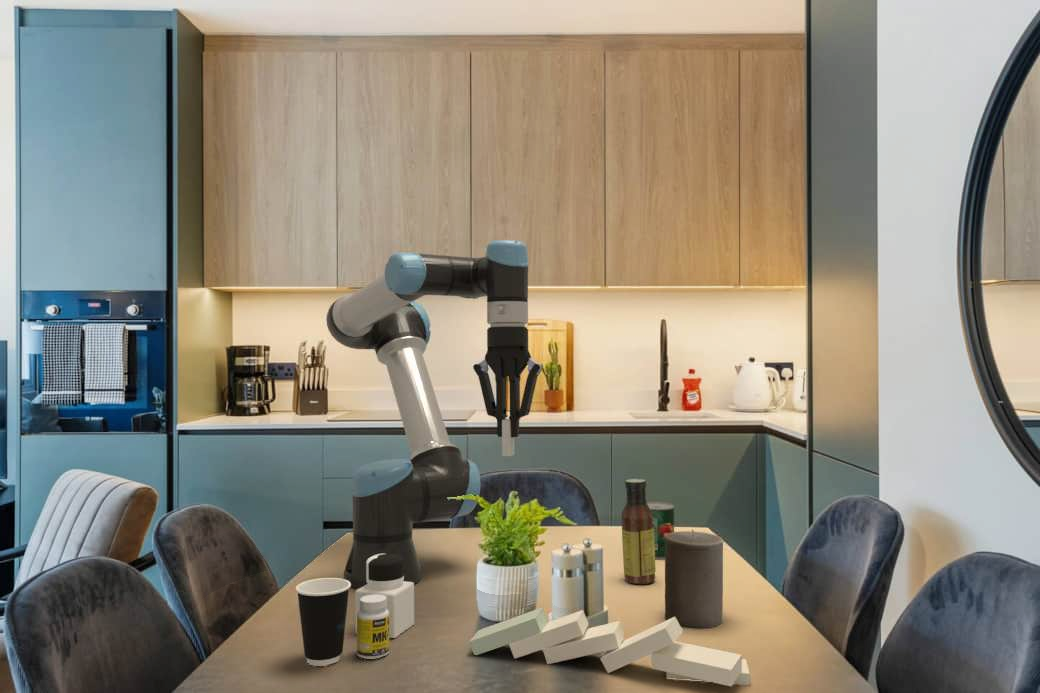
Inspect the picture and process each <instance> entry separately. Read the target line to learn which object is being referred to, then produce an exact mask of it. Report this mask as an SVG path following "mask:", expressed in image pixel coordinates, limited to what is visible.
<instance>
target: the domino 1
mask: <svg viewBox="0 0 1040 693" xmlns="http://www.w3.org/2000/svg"><path fill="white" fill-rule="evenodd" d="M589 625H590V623H589V621H588V619H587V617H586V614H585V612H584V610H583V609H581V610H578V611H576V612H573V613H571V614H568V615H564V616H562V617H558V618H556V619H553V620H550V621H548V622H547V624H546V625H545V627H544V629H543V630H542V632H541V633H538V634H536V635H533V636H530V637H527V638H524V639H521V640H518V641H516V642H513V643H510V644H508V645H509V648H510V651H511V653H512V656H513V658H514V659H517V658H518V659H519V658H521V657H524V656H528V655H529V654H533V653H536V652H539V651H541V650H542V651H543V649H545V648H547V647H550V646H553V645H556V644H559V643H562V642H565V641H568V640H571V639H574V638H577V637H580V636H582V635H583V634H584V632H585V630H586V629H588V627H589Z"/></svg>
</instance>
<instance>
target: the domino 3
mask: <svg viewBox="0 0 1040 693" xmlns="http://www.w3.org/2000/svg"><path fill="white" fill-rule="evenodd" d="M683 632H684V630H683V628H682V626H680V625H679V623H678V621H677V619H676V617H673V618H671V619H669V620H667V619H666V620H665V621H662V622H660V623H658V624H656V625H654V626H652V627H650V628H647V629H645V630H644V631H641V632H639V633H637V634H634V635H633V636H631V637H628V638H626V639H623V641H622V643H621V645H620V647H619V648H617V649H613V650H608V651H605V653H604V654H603V655H602V656H601V657H600V658H599V659H600V661H601V662H602V665H603V666H604V667H603V668H604V669H605V671H606V673H607V674H609V673H612V672H614V671H617V670H618V669H620V668H623V667H625V666H627V665H630V664H632V663H634V662H636V661H638V660H641V659H643V658H645V657H647V656H649V655H651V653H654V652H656V651H658V650H660V649H662V648H664V647H667V646H669V645H671V644H673V643H674V642H675V641H676V642H677V639H679V637H680V635H682V633H683Z"/></svg>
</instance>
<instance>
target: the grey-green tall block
mask: <svg viewBox="0 0 1040 693" xmlns="http://www.w3.org/2000/svg"><path fill="white" fill-rule="evenodd" d="M547 622H549V620H548V617H547V615H546V613H545V610H544V607H543V606H542V607H540V608H536V609H533V610H531V611H529V612H526V613H523V614H520V615H518V616H515V617H511V618H509V619H507V620H504V621H500V622H498V623H497V622H496V623H495V624H492V625H489V626H487V627H484V628H481V629H479V630H477V631H476V632H475V634H474V635H473V636H472V638H471V639H470V640H469V641H468V642H469V643H468V644H469V645H470V648H471V650H472V653H473V655H476V656H478V655H482V654H483V653H487V652H490V651H493V650H496V649H498V648H501V647H504V646H507V645H509V644H510V643H513V642H516V641H518V640H521V639H524V638H527V637H530V636H533V635H536V634H538V633H541V632H542V630H543V629H544V627H545V625H546V624H547Z"/></svg>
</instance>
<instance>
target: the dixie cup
mask: <svg viewBox="0 0 1040 693" xmlns="http://www.w3.org/2000/svg"><path fill="white" fill-rule="evenodd" d="M350 588H351V583H350V582H349V581H348V580H345V579H344V578H340V577H339V578H338V577H321V578H320V577H319V578H314V579H309V580H306V581H302V582H300V583H298V584H297V585H296V586H295V592H296V593H297V600H298V608H299V615H300V616H299V617H300V627H301V635H302V643H303V644H302V645H303V652H304V657H305V658H306V663H309V664H311V665H327V664H331V663H334V662H336V661H338V660H339V659H340V660H341V656H342V653H343V651H344V641H345V640H344V639H345V630H346V621H347V610H348V601H349V591H350ZM309 664H308V665H309Z"/></svg>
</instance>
